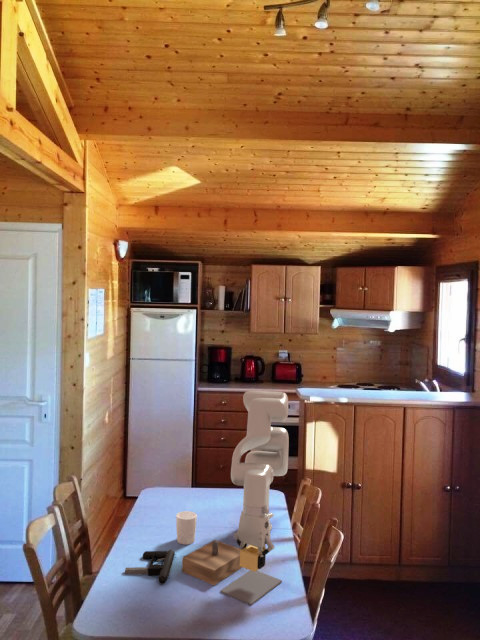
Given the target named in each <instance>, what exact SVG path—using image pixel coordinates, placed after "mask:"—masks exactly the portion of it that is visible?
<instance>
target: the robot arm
mask: <svg viewBox="0 0 480 640" xmlns="http://www.w3.org/2000/svg"><path fill="white" fill-rule="evenodd" d="M242 399H243V400H242V402H243V406H244V407H245V409H246V410H247V412H248V413H247V423H246V424H247V426H246V435H245V437H244V438H242V439H241V440H240V441H239V442H238V444H237V445H236V447H235V448H234V451H233V454H232V458H231V466H230V467H231V468H230V479H231V482H232V483H233V484H234V485H236V486H240V487H241V486H243V496H242V497H243V498H242V499H243V502H242V510H241V513H240V516H239V522H238V529H237V530H236V532H234V533H233V538H234V539H235V541H236V543H237V545H238V548H239V549H240V550H242V549H244V548H245V547H247V546H249V545H252V546H255V547H258V551H259V555H260V556H259V557H258V570H260V569H263V568H264V567H265V566H266V558H265V557H267V556H266V555H267V554H268V553H270V552H271V551H273V550H274V549H275V544H273V542H272V541H271V530H272V528H273V525H272V524H271V522H270V519H271V518H273V517H274V513H273V512H270V507H269V506H270V485H271V484H272V483H273V480H274V477H284V476H285V475H286V474H287V472H288V469H289V468H288V467H289V450H290V449H289V447H290V445H289V443H290V442H289V440H290V439H289V433H288V430H287V429H286V428H284V427H279V426H278V427H277V426H271V425H272V422H276V423H277V422H279V423H281V422H283V423H284V422H286V421H287V419H288V415H289V397H288V395H287V393H285V392H283V391H272V390H271V391H268V390H247V391H245V392H244V393H243V398H242ZM250 450H252V451H250ZM248 451H249V452H248ZM246 452H248V453H247V454H246V456H245V460H244V462H241V458H242V456H243V455H244V454H245V453H246ZM266 545H267V546H266ZM262 550H263V551H262Z"/></svg>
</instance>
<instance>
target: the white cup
mask: <svg viewBox="0 0 480 640" xmlns="http://www.w3.org/2000/svg"><path fill="white" fill-rule="evenodd" d="M175 518H176V520H175V521H176V541H177V543H178V544H180V545H191V544H194V543H195V541H196V539H195V538H196V532H197V531H196V529H197V518H198V515H197V513H195V512H193V511H186V510H185V511H180V512H178V513H177V514H176V517H175Z"/></svg>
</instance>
